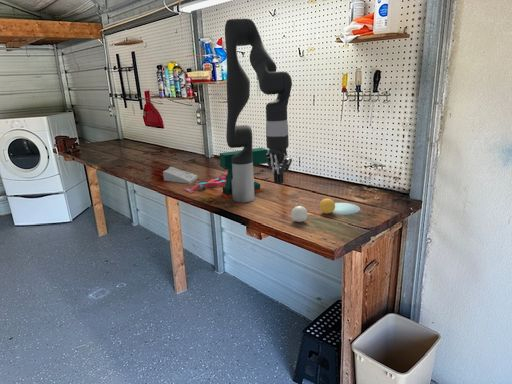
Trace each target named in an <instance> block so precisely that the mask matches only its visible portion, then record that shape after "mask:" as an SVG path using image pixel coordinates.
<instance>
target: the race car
mask: <svg viewBox="0 0 512 384" xmlns="http://www.w3.org/2000/svg"><path fill="white" fill-rule="evenodd" d="M227 173H228V170H227V171H224V172H221V174H219V176H217V177H215V178H214V179H213V178H212V179H210V180H209V181H207V182H206V181H204V182H199V183H198V182H194V183H193V186H192V187H191V188H188V187H184V188H183V190H184V191H186V192H187V193H189V194H194V193H195V191H200V192H203V191H207V189H208V188H220V187H221V188H222V187H225V185H226V179H227Z"/></svg>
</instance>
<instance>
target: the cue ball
mask: <svg viewBox="0 0 512 384" xmlns="http://www.w3.org/2000/svg"><path fill="white" fill-rule="evenodd" d="M290 214H291V218H292V220H294V221H295V222H297V223H301V222H304V221H305V220H306V219H307V217H308V211H307V208H305V207H304V206H301V205H297V206H294V208H292V210H291V213H290Z"/></svg>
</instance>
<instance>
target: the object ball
mask: <svg viewBox="0 0 512 384" xmlns="http://www.w3.org/2000/svg"><path fill="white" fill-rule="evenodd" d="M335 203H336V202H334V200H333V199H331V198H328V197H327V198H324V199H322V200H321V201H320V203H319V209H320V211H321V212H322V213H323V214H327V215H328V214H332V213H331V212H333V211H334V209H335Z"/></svg>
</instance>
